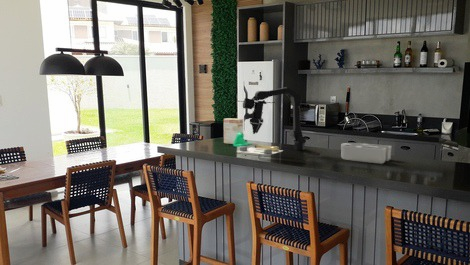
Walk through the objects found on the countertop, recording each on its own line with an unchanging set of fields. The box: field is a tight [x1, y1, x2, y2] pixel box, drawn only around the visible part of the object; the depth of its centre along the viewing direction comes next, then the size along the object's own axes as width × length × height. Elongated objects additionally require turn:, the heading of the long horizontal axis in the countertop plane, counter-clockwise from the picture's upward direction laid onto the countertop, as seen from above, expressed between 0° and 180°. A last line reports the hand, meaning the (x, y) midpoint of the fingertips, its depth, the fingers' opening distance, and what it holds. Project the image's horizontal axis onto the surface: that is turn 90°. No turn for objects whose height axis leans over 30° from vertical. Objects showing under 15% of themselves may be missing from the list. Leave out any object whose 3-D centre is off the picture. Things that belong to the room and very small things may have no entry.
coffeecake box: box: [223, 117, 244, 145], centre depth 316 cm, size 15×7×20 cm, turn 46°
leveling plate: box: [235, 145, 283, 158], centre depth 272 cm, size 26×19×4 cm
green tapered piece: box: [232, 132, 252, 148], centre depth 300 cm, size 12×8×10 cm, turn 138°
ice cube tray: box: [340, 142, 392, 165], centre depth 248 cm, size 17×28×9 cm, turn 53°
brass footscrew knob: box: [253, 144, 280, 151], centre depth 275 cm, size 18×6×3 cm, turn 56°
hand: (255, 133), depth 269 cm, fingers open, 9 cm apart
